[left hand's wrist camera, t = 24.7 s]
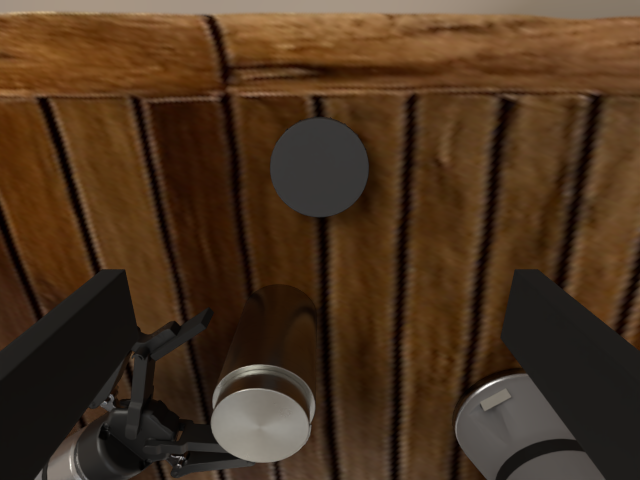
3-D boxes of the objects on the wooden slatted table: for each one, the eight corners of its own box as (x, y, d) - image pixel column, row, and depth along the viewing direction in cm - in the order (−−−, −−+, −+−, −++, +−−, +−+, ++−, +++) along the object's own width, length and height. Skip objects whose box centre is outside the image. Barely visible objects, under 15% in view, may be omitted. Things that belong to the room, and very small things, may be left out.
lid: (374, 198, 38) (377, 205, 36) (287, 219, 39) (285, 226, 37) (355, 105, 35) (357, 106, 33) (260, 130, 36) (257, 132, 33)
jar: (241, 343, 44) (204, 461, 30) (245, 280, 41) (205, 378, 27) (312, 350, 45) (308, 470, 31) (321, 288, 42) (321, 390, 27)
